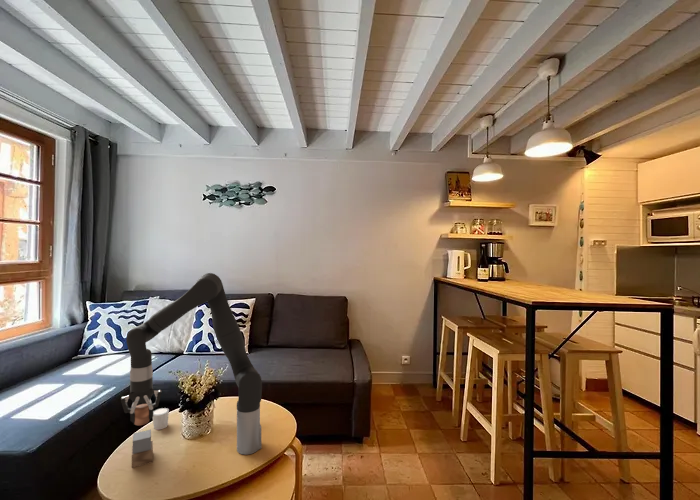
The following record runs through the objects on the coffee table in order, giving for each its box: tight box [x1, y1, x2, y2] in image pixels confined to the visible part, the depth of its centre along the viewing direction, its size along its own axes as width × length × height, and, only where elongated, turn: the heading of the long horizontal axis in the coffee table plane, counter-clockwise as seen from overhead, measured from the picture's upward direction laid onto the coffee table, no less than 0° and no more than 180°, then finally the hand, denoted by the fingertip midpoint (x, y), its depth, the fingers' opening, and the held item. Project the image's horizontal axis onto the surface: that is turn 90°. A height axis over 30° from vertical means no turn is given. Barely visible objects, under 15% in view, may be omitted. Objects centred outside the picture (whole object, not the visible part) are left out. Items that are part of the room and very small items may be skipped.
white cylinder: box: [152, 407, 170, 431], centre depth 164 cm, size 7×7×7 cm
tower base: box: [131, 440, 154, 468], centre depth 140 cm, size 7×7×5 cm
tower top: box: [132, 429, 152, 454], centre depth 139 cm, size 6×6×5 cm
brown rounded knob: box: [133, 403, 150, 426], centre depth 139 cm, size 5×5×6 cm
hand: (141, 419), depth 139 cm, fingers closed on brown rounded knob, 5 cm apart
